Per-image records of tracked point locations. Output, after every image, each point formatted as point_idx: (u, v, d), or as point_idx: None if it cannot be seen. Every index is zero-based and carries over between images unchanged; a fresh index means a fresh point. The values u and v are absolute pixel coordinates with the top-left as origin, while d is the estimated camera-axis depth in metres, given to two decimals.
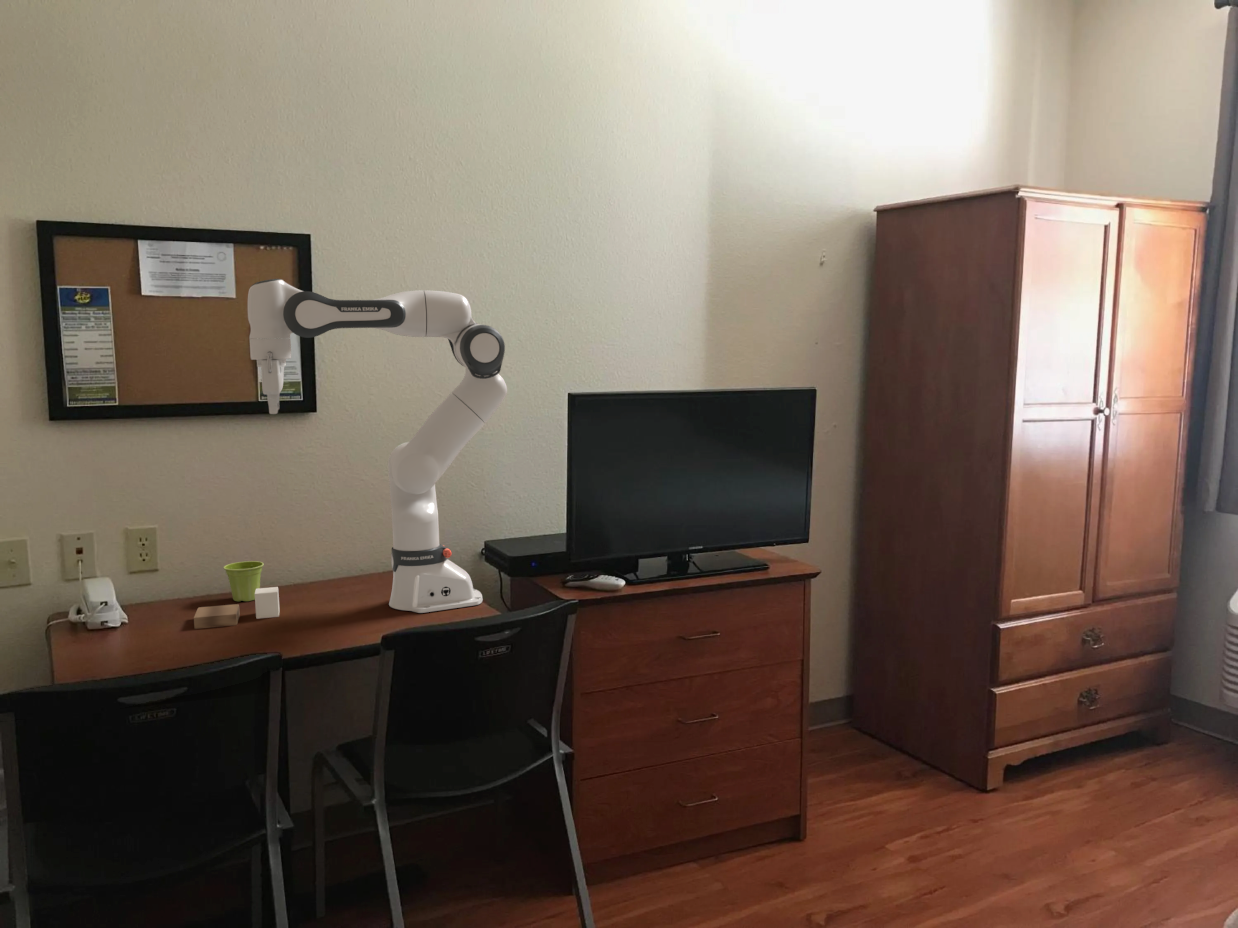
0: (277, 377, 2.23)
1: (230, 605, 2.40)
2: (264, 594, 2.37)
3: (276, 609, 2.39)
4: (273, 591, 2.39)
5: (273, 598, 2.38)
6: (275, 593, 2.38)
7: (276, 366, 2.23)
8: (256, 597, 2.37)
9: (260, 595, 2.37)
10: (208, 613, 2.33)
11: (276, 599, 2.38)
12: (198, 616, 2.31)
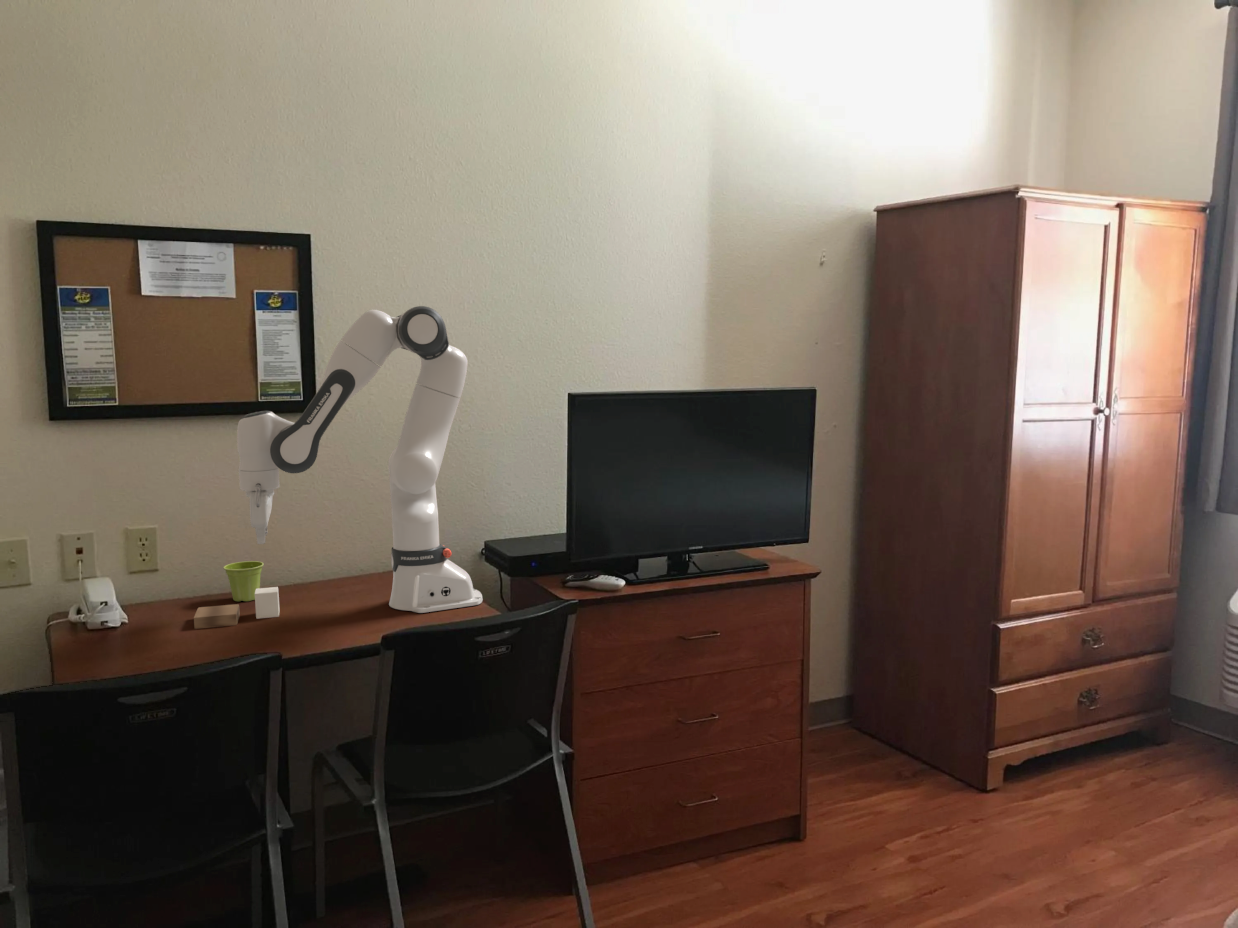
0: (265, 511, 2.28)
1: (230, 605, 2.40)
2: (264, 594, 2.37)
3: (276, 609, 2.39)
4: (273, 591, 2.39)
5: (273, 598, 2.38)
6: (275, 593, 2.38)
7: (264, 500, 2.28)
8: (256, 597, 2.37)
9: (260, 595, 2.37)
10: (208, 613, 2.33)
11: (276, 599, 2.38)
12: (198, 616, 2.31)
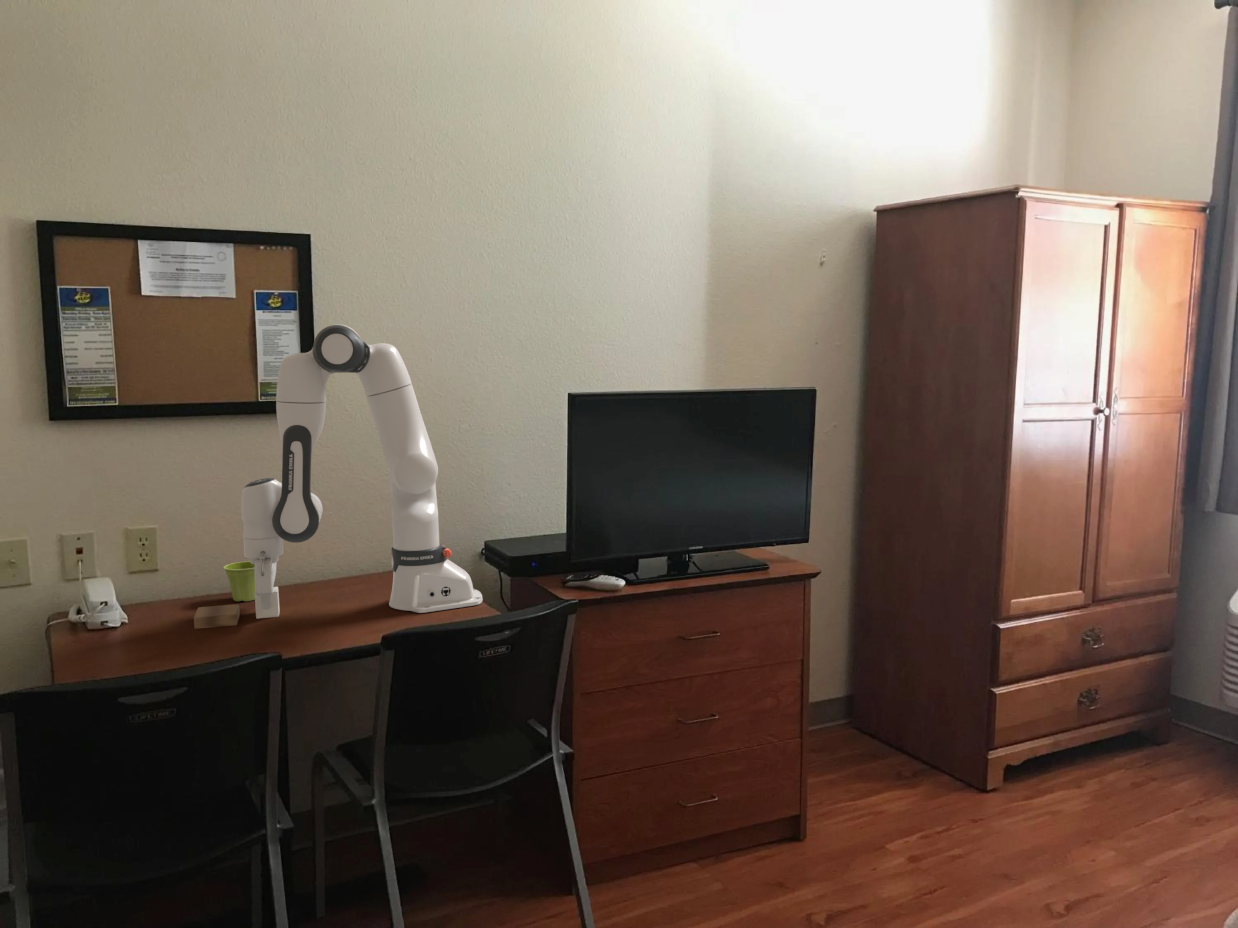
0: (270, 579, 2.30)
1: (230, 605, 2.40)
2: None
3: (276, 609, 2.39)
4: (273, 591, 2.39)
5: (273, 597, 2.38)
6: (275, 593, 2.38)
7: (269, 568, 2.30)
8: (256, 597, 2.37)
9: None
10: (208, 613, 2.33)
11: (276, 599, 2.38)
12: (198, 616, 2.31)
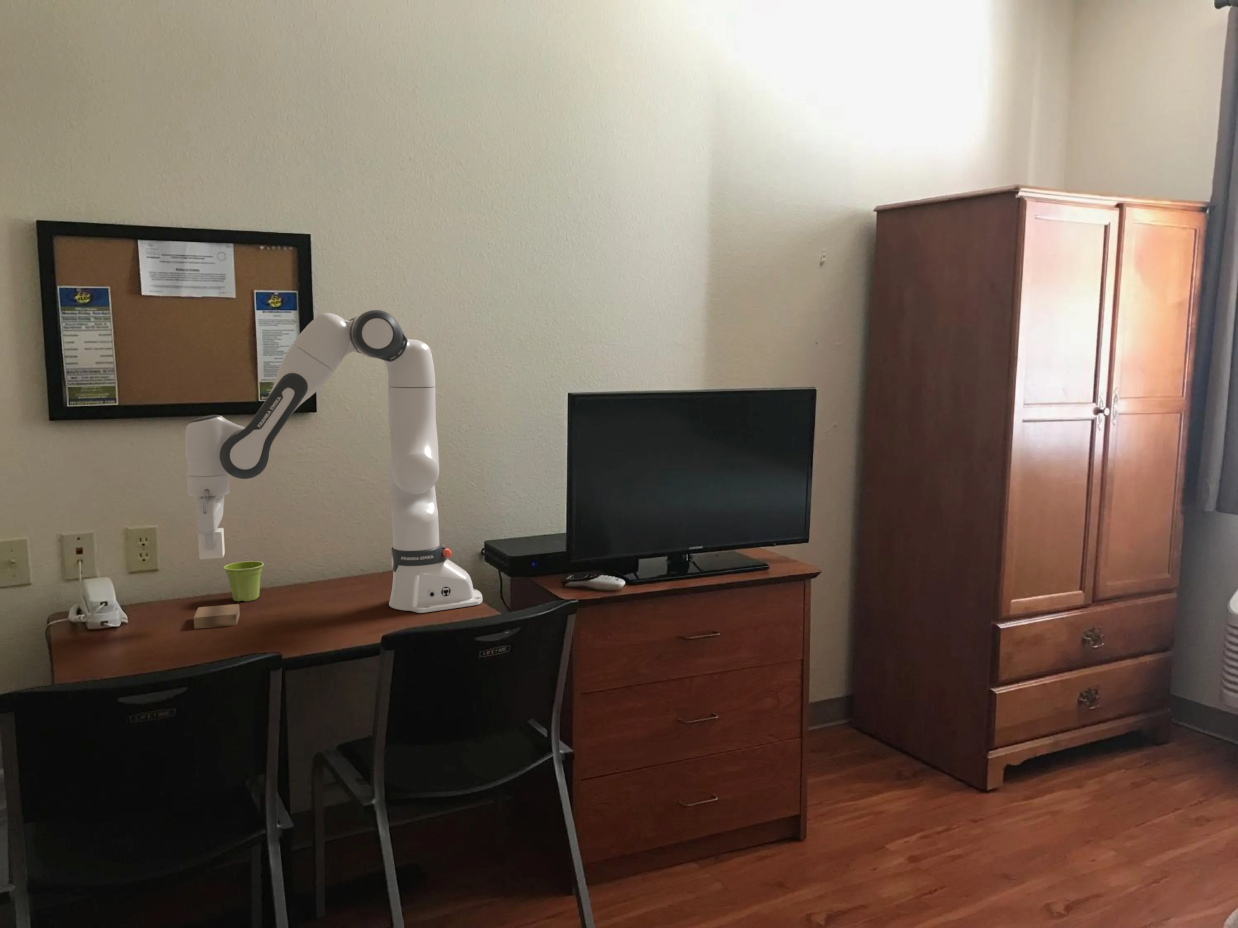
0: (212, 517, 2.23)
1: (230, 605, 2.40)
2: None
3: (220, 550, 2.32)
4: (217, 531, 2.32)
5: (217, 538, 2.31)
6: (219, 533, 2.31)
7: (211, 506, 2.23)
8: (199, 537, 2.30)
9: None
10: (208, 613, 2.33)
11: (220, 539, 2.31)
12: (198, 616, 2.31)
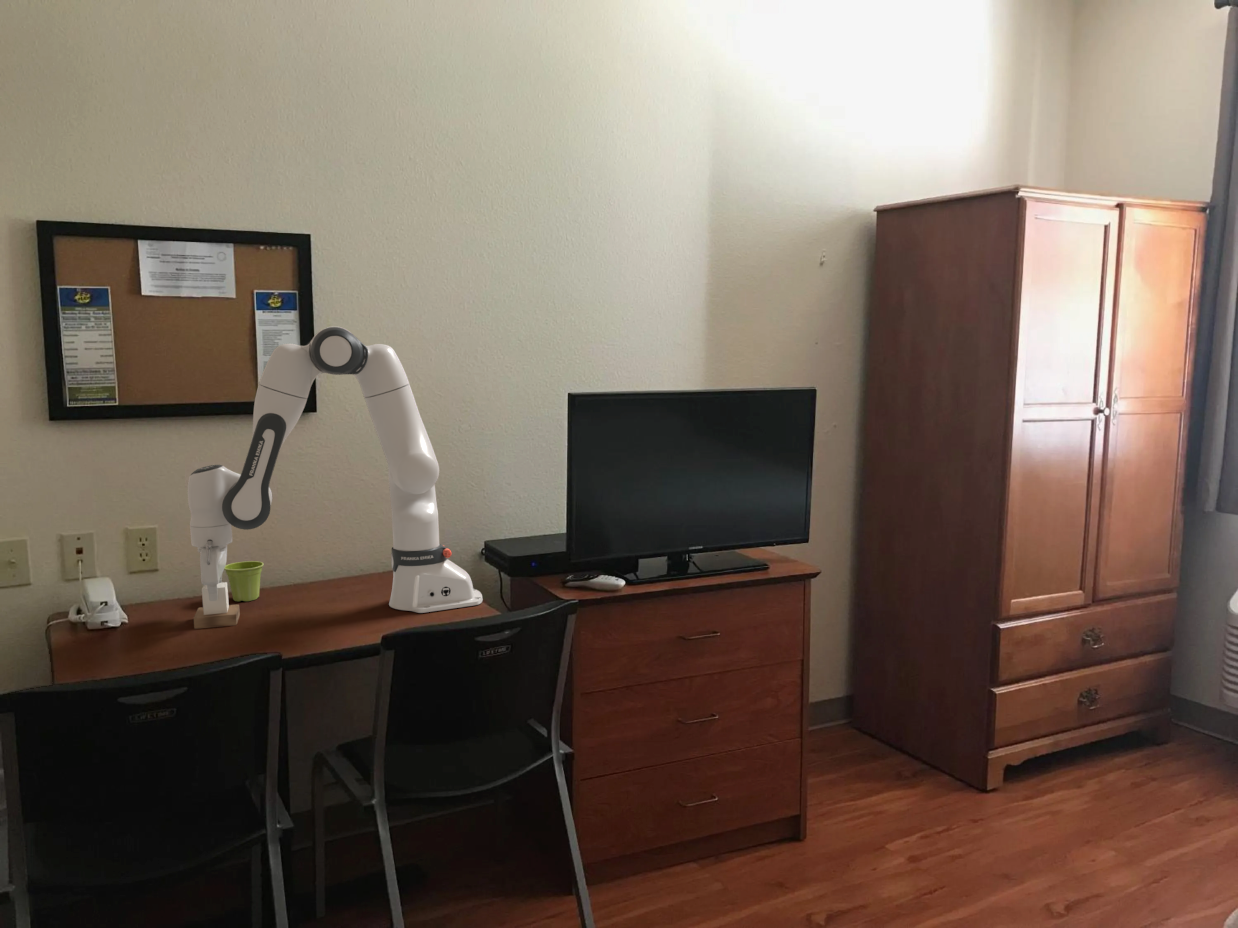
0: (216, 568, 2.25)
1: (230, 605, 2.40)
2: None
3: (224, 605, 2.33)
4: (221, 586, 2.33)
5: (221, 593, 2.33)
6: (223, 588, 2.33)
7: (215, 557, 2.25)
8: (203, 593, 2.32)
9: (207, 590, 2.32)
10: None
11: (224, 595, 2.33)
12: (198, 616, 2.31)
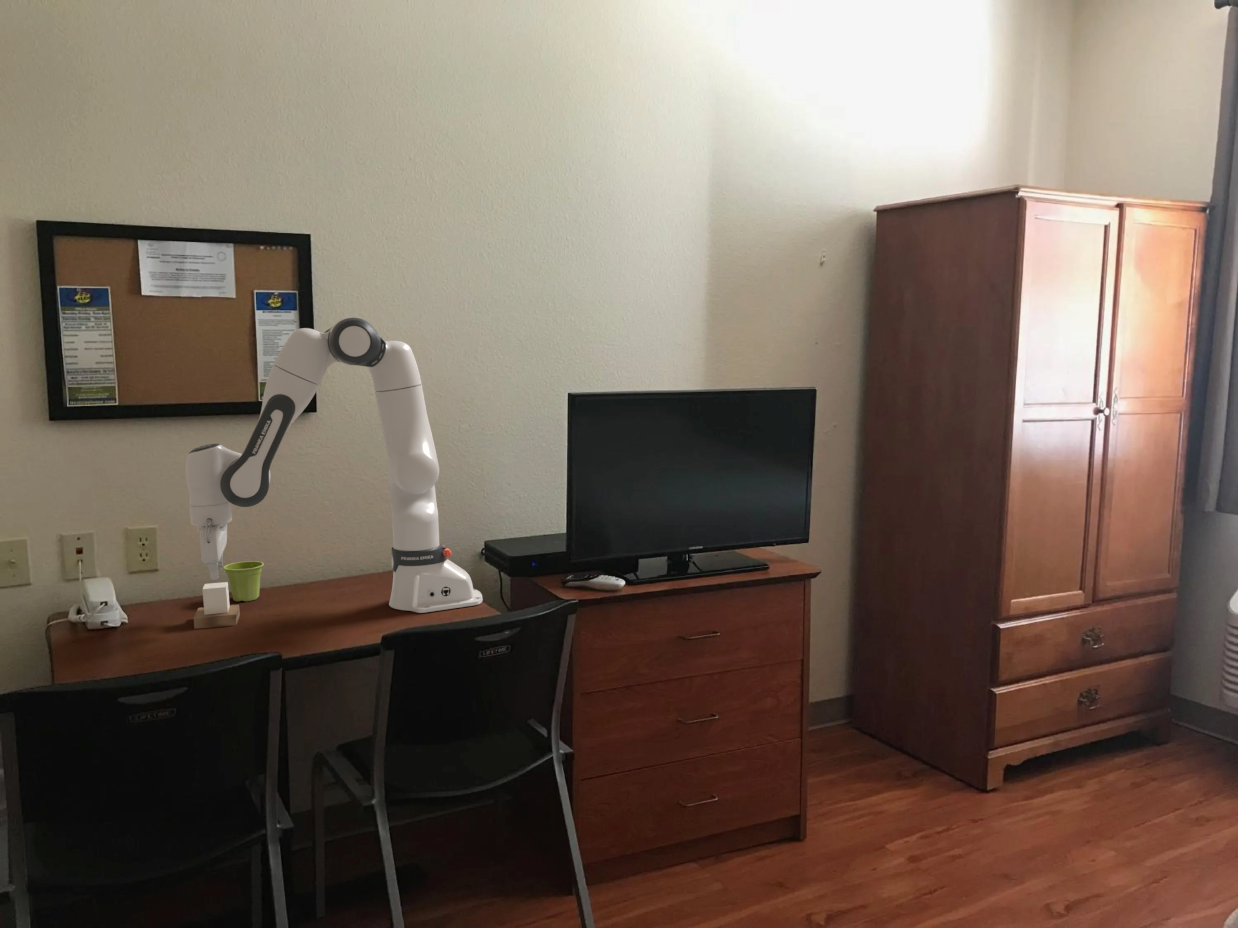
0: (216, 546, 2.24)
1: (230, 605, 2.40)
2: (212, 589, 2.32)
3: (225, 605, 2.33)
4: (222, 586, 2.34)
5: (221, 593, 2.33)
6: (224, 588, 2.33)
7: (214, 535, 2.24)
8: (204, 592, 2.32)
9: (208, 590, 2.32)
10: None
11: (225, 594, 2.33)
12: (198, 616, 2.31)
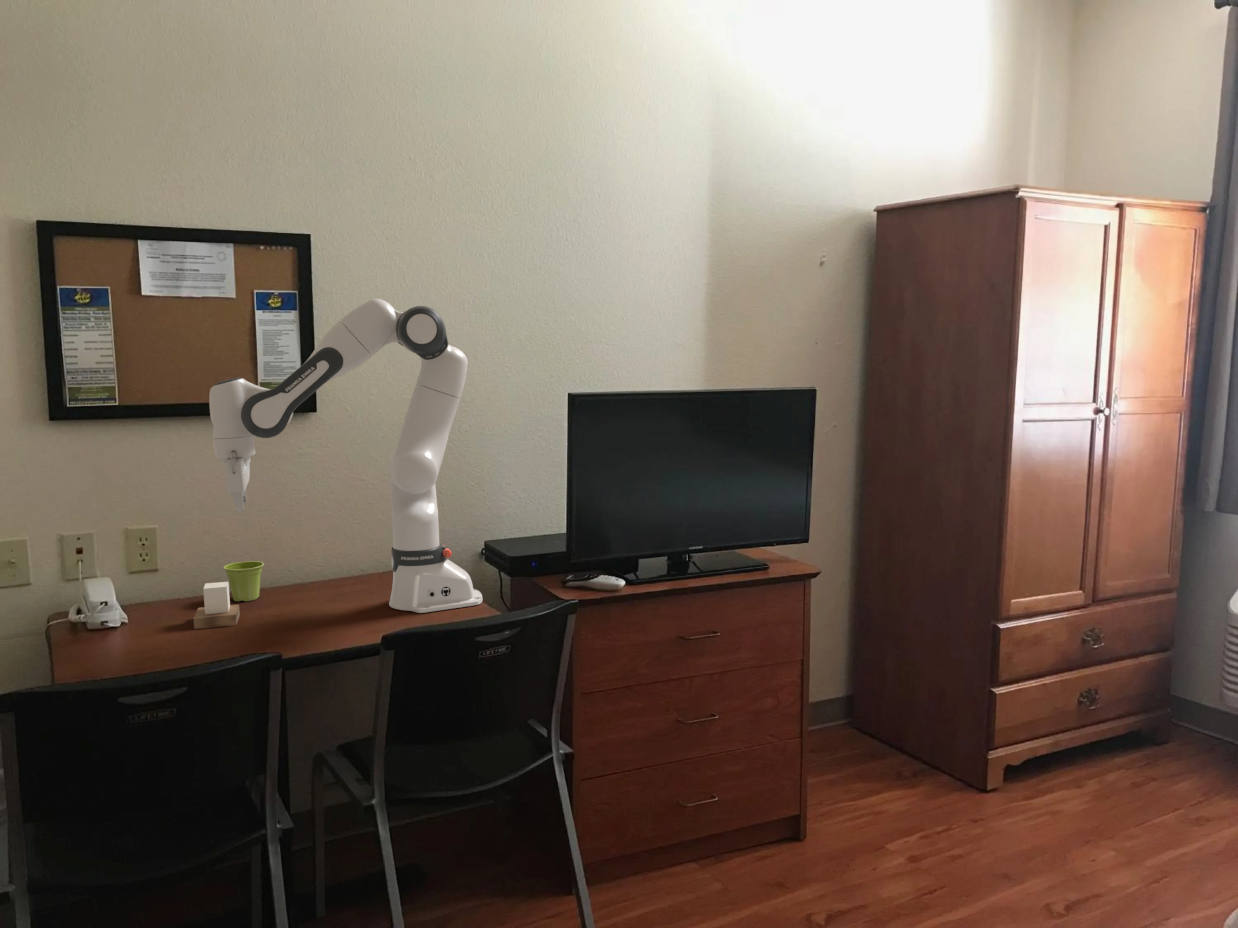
0: (241, 477, 2.27)
1: (230, 605, 2.40)
2: (213, 589, 2.33)
3: (225, 604, 2.34)
4: (222, 586, 2.34)
5: (222, 593, 2.33)
6: (224, 588, 2.33)
7: (240, 466, 2.27)
8: (205, 592, 2.32)
9: (209, 590, 2.32)
10: None
11: (225, 594, 2.34)
12: (198, 616, 2.31)
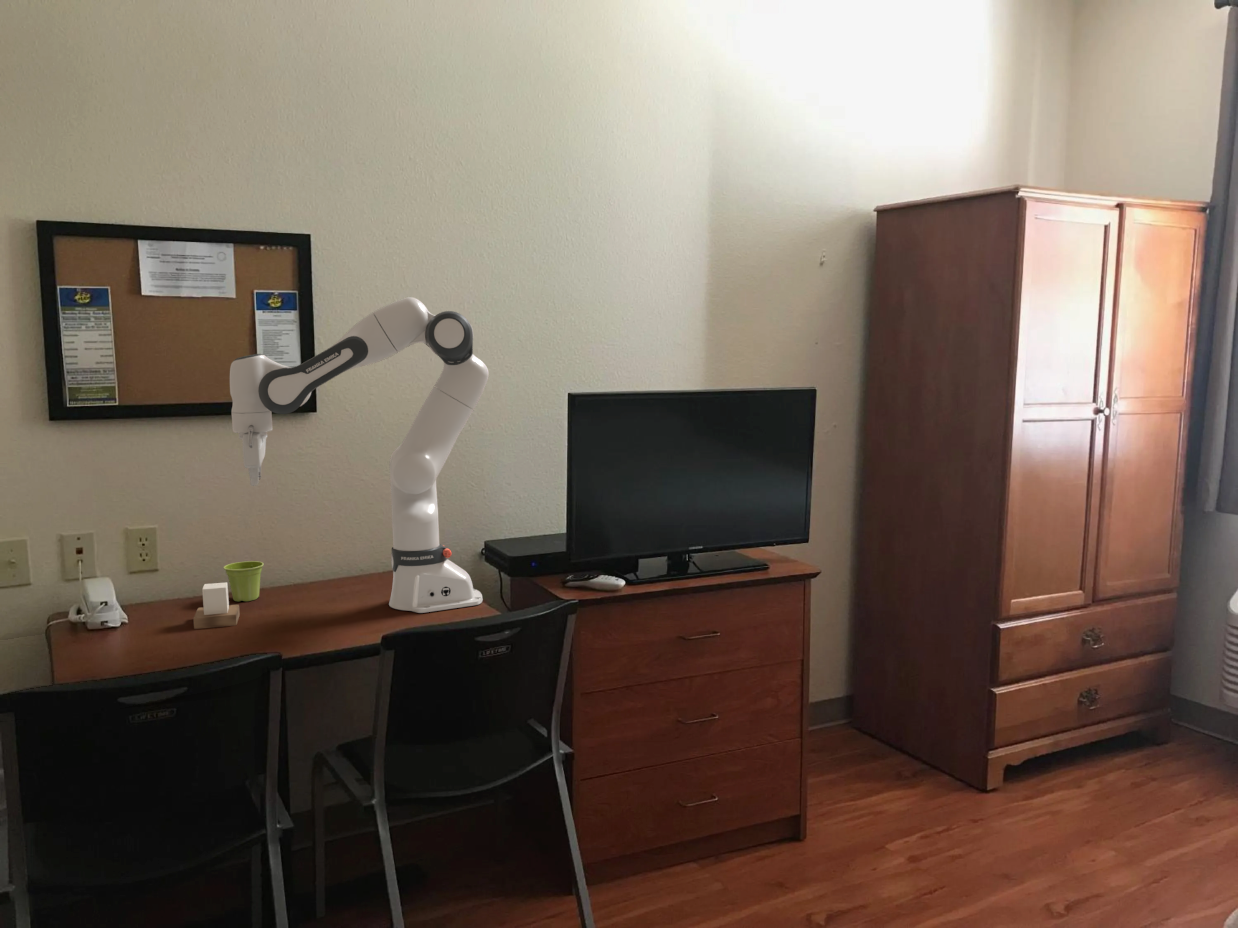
0: (258, 451, 2.30)
1: (230, 605, 2.40)
2: (212, 590, 2.32)
3: (225, 605, 2.33)
4: (222, 587, 2.33)
5: (221, 593, 2.33)
6: (223, 589, 2.33)
7: (257, 440, 2.30)
8: (204, 593, 2.32)
9: (208, 590, 2.32)
10: None
11: (225, 595, 2.33)
12: (198, 616, 2.31)
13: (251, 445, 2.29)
